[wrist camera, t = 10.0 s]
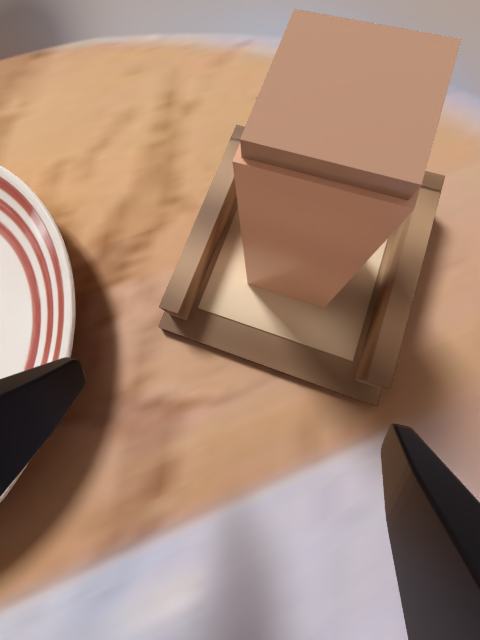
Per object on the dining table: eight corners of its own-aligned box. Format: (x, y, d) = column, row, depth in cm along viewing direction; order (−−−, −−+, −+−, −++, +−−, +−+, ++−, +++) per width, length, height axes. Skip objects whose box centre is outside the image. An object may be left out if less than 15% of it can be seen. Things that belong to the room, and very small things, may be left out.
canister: (323, 308, 17) (428, 193, 7) (247, 283, 18) (230, 143, 7) (345, 238, 18) (470, 35, 7) (272, 217, 19) (290, 2, 8)
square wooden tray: (373, 405, 17) (393, 409, 14) (161, 328, 18) (145, 320, 16) (426, 204, 19) (452, 177, 16) (234, 154, 21) (230, 123, 18)
